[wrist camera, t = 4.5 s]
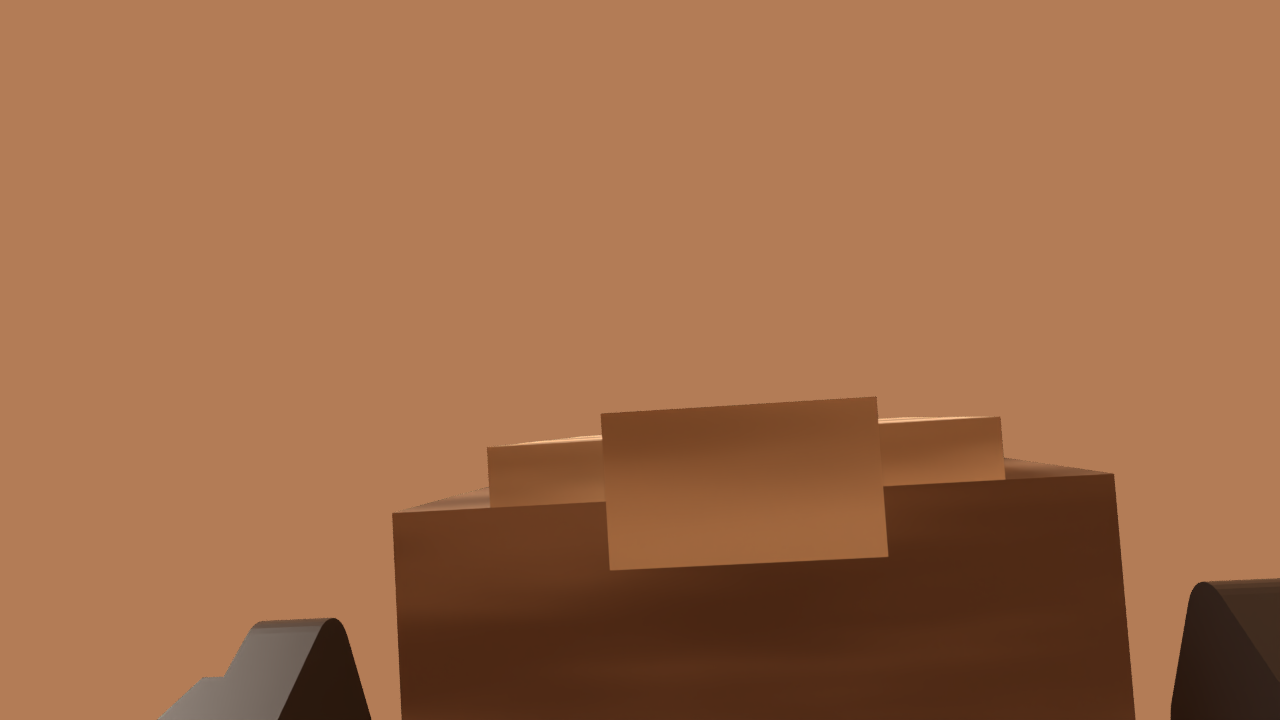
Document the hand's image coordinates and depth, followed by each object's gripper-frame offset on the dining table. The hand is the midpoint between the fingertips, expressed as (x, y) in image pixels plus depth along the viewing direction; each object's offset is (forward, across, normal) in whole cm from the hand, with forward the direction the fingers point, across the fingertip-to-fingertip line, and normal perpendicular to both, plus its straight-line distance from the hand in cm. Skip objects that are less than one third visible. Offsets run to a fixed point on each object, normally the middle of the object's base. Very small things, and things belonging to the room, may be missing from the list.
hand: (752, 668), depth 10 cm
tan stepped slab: (+11, 0, +5) cm, 12 cm away
